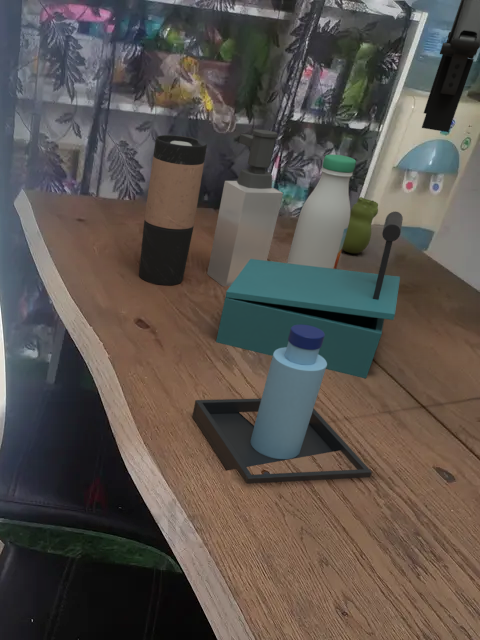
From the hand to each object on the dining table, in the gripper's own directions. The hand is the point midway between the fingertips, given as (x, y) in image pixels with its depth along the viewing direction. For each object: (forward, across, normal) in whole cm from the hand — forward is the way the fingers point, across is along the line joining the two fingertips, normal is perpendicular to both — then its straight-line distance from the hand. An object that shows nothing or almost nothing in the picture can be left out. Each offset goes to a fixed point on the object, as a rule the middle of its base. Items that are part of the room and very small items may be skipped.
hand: (435, 122), depth 82 cm
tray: (+29, -30, +6) cm, 42 cm away
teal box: (+29, 0, +8) cm, 30 cm away
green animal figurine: (+29, +51, +5) cm, 59 cm away
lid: (+21, 0, +8) cm, 22 cm away
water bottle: (+28, -30, +6) cm, 42 cm away
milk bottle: (+29, +23, +10) cm, 38 cm away
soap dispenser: (+29, +21, +22) cm, 42 cm away
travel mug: (+29, +14, +32) cm, 45 cm away
